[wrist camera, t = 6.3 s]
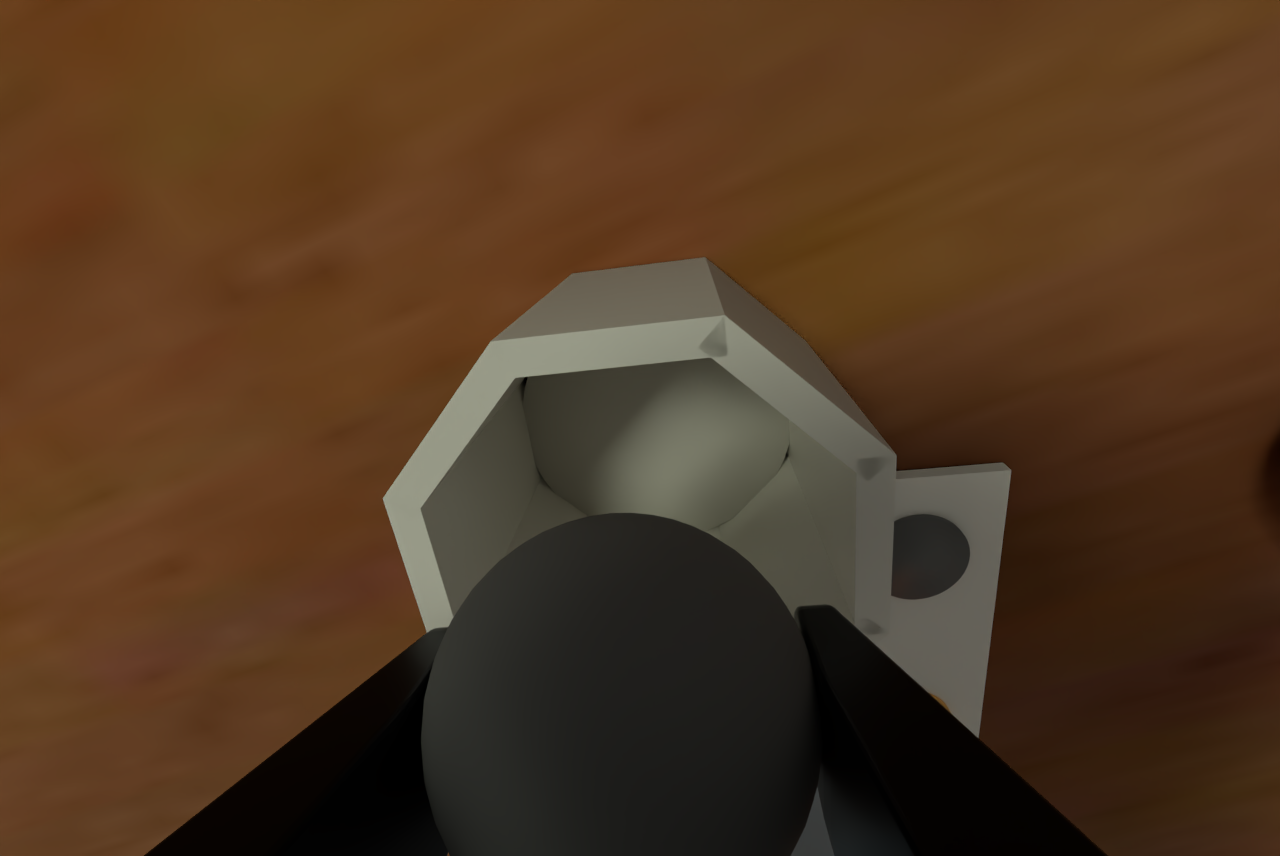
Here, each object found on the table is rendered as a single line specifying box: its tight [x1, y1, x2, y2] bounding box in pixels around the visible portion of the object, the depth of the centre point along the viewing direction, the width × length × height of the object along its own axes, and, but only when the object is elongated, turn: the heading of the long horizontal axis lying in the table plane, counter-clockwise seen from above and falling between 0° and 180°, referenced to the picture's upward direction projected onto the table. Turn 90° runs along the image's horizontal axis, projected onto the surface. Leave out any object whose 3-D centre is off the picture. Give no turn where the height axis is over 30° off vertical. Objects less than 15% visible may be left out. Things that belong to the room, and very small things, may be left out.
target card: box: [875, 463, 1011, 738], centre depth 16 cm, size 10×4×1 cm, turn 7°
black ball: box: [421, 513, 823, 856], centre depth 6 cm, size 4×4×4 cm
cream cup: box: [383, 257, 897, 644], centre depth 11 cm, size 7×7×6 cm
